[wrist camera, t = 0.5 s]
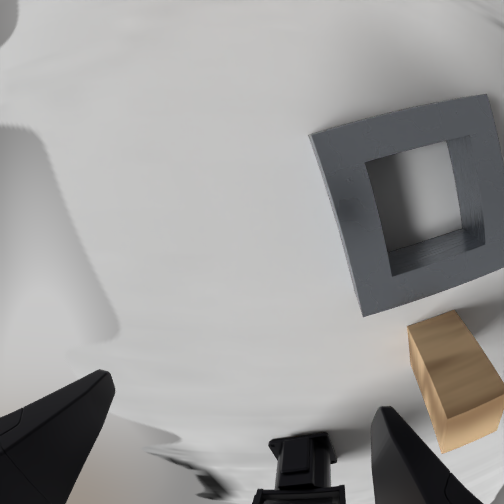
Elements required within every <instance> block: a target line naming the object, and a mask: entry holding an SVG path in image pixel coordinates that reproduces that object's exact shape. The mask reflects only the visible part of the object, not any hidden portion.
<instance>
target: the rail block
mask: <svg viewBox="0 0 504 504" xmlns="http://www.w3.org/2000/svg"><path fill="white" fill-rule="evenodd" d="M308 136H309V139H310V141H311V144H312V147H313V150H314V153H315V156H316V159H317V162H318V165H319V168H320V171H321V174H322V177H323V180H324V183H325V186H326V189H327V193H328V196H329V199H330V202H331V206H332V209H333V212H334V216H335V219H336V222H337V226H338V229H339V233H340V237H341V240H342V244H343V247H344V251H345V255H346V259H347V262H348V266H349V270H350V274H351V278H352V282H353V286H354V290H355V294H356V297H357V300H358V303H359V306H360V309H361V312H362V315H363V317H365V316H369V315H372V314H375V313H379V312H382V311H385V310H388V309H392V308H395V307H398V306H401V305H404V304H407V303H410V302H413V301H416V300H419V299H422V298H425V297H428V296H431V295H434V294H436V293H439V292H442V291H445V290H448V289H450V288H453V287H456V286H458V285H461V284H464V283H466V282H469V281H471V280H474V279H477V278H479V277H482V276H484V275H487V274H489V273H491V272H494V271H496V270H499V269H501V268H503V267H504V167H503V161H502V155H501V150H500V145H499V140H498V135H497V131H496V126H495V122H494V118H493V114H492V110H491V107H490V103H489V99H488V96H487V94H483V95H476V96H469V97H462V98H457V99H451V100H446V101H441V102H436V103H431V104H426V105H421V106H417V107H412V108H408V109H403V110H399V111H395V112H391V113H386V114H382V115H378V116H375V117H371V118H367V119H363V120H359V121H356V122H352V123H348V124H345V125H341V126H338V127H334V128H331V129H327V130H324V131H321V132H317V133H314V134H311V135H308ZM442 141H447V145H448V149H449V154H450V158H451V163H452V167H453V172H454V177H455V183H456V188H457V194H458V200H459V206H460V213H461V221H462V229H460V230H457V231H454V232H451V233H448V234H445V235H442V236H439V237H436V238H433V239H430V240H427V241H423V242H420V243H417V244H414V245H411V246H408V247H405V248H402V249H398V250H395V251H392V252H389V253H387V249H386V244H385V239H384V235H383V230H382V226H381V222H380V218H379V213H378V209H377V205H376V201H375V198H374V194H373V190H372V186H371V183H370V179H369V176H368V172H367V169H366V165H365V162H367V161H371V160H374V159H378V158H381V157H385V156H389V155H392V154H396V153H400V152H403V151H407V150H411V149H415V148H419V147H422V146H426V145H430V144H434V143H438V142H442Z"/></svg>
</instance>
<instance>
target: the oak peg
mask: <svg viewBox="0 0 504 504" xmlns="http://www.w3.org/2000/svg"><path fill="white" fill-rule="evenodd" d="M407 330H408V340H409V351H410V363H411V367H412V369H413V372H414V375H415V377H416V380H417V382H418V385H419V388H420V390H421V393H422V396H423V399H424V401H425V404H426V407H427V410H428V413H429V416H430V419H431V422H432V425H433V428H434V431H435V434H436V437H437V440H438V443H439V447H440V450H441V453H442V454H443V453H446V452H449V451H451V450H454V449H456V448H459V447H461V446H464V445H466V444H468V443H471V442H473V441H475V440H477V439H480V438H482V437H484V436H486V435H488V434H490V433H492V432H495V431H497V428H498V425H499V422H500V419H501V416H502V413H503V410H504V383H503V381H502V379H501V378H500V376H499V374H498V373H497V371H496V370H495V368H494V367H493V365H492V363H491V362H490V360H489V359H488V357H487V356H486V354H485V353H484V351H483V350H482V348H481V347H480V345H479V344H478V342H477V341H476V339H475V338H474V337H473V335H472V334H471V332H470V331H469V329H468V328H467V327H466V325H465V324H464V322H463V321H462V320H461V318H460V317H459V316H458V314H457V313H456V312H455V310H452V311H450V312H447V313H444V314H441V315H439V316H436V317H433V318H430V319H427V320H425V321H422V322H419V323H416V324H413V325H410V326H407Z"/></svg>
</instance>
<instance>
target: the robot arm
mask: <svg viewBox="0 0 504 504" xmlns="http://www.w3.org/2000/svg"><path fill="white" fill-rule="evenodd" d="M114 395H115V386H114V383H113V380H112V376H111V374H110V373H109V372H108V371H104V370H101V369H99V370H97V371H95V372H93V373H91V374H89V375H87V376H85V377H83V378H81V379H79V380H77V381H75V382H73V383H71V384H69V385H67V386H65V387H63V388H61V389H59V390H57V391H55V392H53V393H51V394H49V395H47V396H45V397H43V398H42V399H39V400H37V401H35V402H33V403H31V404H29V405H27V406H25V407H24V408H21V409H19V410H16V411H14V412H12V413H10V414H8V415H5V416H3V417H0V504H65V503H66V501H67V499H68V497H69V495H70V493H71V491H72V488H73V486H74V484H75V482H76V480H77V478H78V476H79V474H80V472H81V469H82V467H83V465H84V463H85V461H86V459H87V457H88V455H89V453H90V451H91V449H92V447H93V445H94V443H95V441H96V438H97V437H98V435H99V433H100V431H101V429H102V427H103V424H104V422H105V419H106V416H107V413H108V411H109V408H110V405H111V403H112V400H113V397H114ZM268 446H269V448H270V449H271V451H272V452H273V454H274V456H275V457H276V459H277V460H278V464H277V473H276V482H275V490H263V489H258V490H257V493H256V495H255V496H254V499H253V503H252V504H346V500H345V485H339V486H336V487H331V469H330V464H334V463H336V462H337V457H336V454H335V451H334V448H333V446H332V443H331V440H330V437H329V434H328V433H319V434H313V435H308V436H301V437H295V438H288V439H281V440H273V441H270V442H269V445H268ZM371 462H372V476H373V485H374V494H375V504H483V503H482V502H481V501H480V500H479V499H477V498H476V497H475V496H474V495H473V494H472V493H471V492H470V491H469V490H467V489H466V488H465V487H464V486H463V484H462V483H461V482H460V481H459V480H458V479H457V478H456V477H455V476H454V475H453V474H452V473H450V471H449V469H448V468H447V467H446V466H445V465H444V464H443V463H442V462H441V461H440V459H439V458H438V457H437V456H436V455H435V454H434V453H433V452H432V450H431V449H430V448H429V447H428V446H427V445H426V444H425V443H424V442H423V440H422V439H421V438H420V437H419V436H418V435H417V434H416V433H415V432H414V430H413V429H412V428H411V427H410V426H409V425H408V424H407V423H406V422H405V420H404V419H403V418H402V417H401V416H400V415H399V414H398V413H397V412H396V410H395V409H394V408H393V407H391V406H381V407H379V409H378V410H377V413H376V415H375V417H374V419H373V422H372V425H371Z"/></svg>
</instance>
